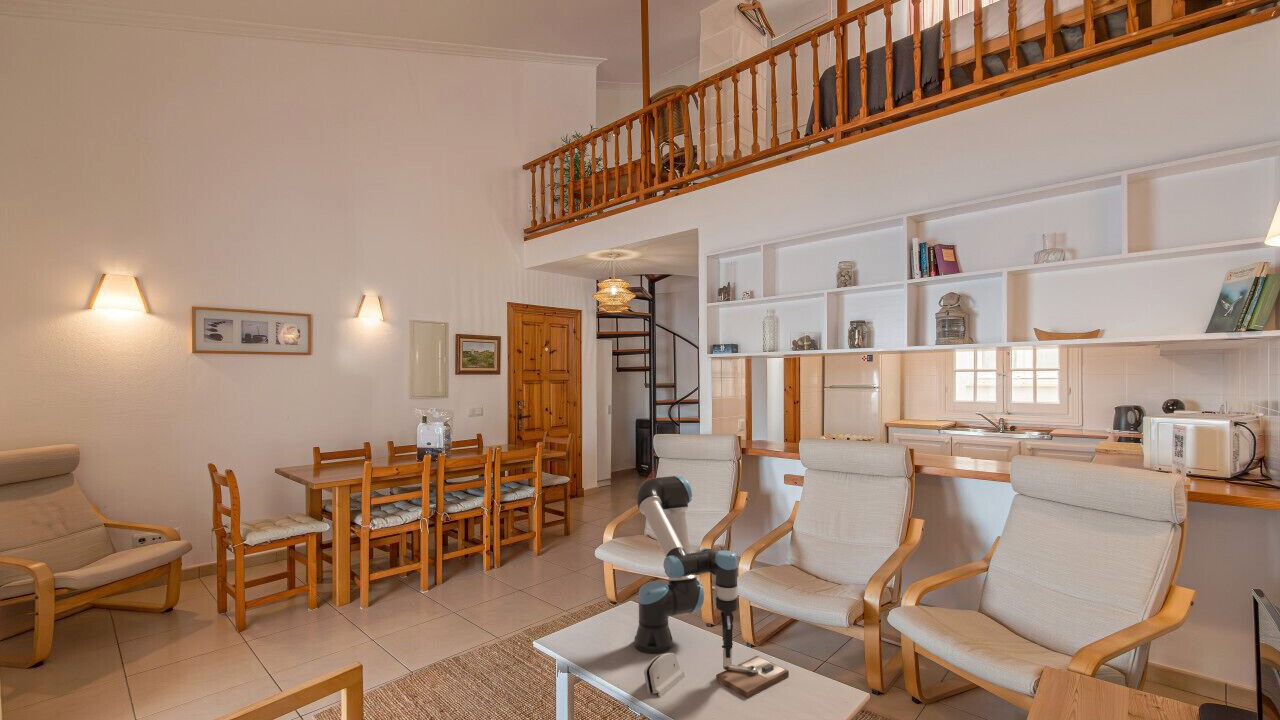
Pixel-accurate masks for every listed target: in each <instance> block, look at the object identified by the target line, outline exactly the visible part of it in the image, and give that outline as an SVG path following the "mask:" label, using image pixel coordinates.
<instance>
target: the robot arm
mask: <svg viewBox="0 0 1280 720" xmlns="http://www.w3.org/2000/svg"><path fill="white" fill-rule="evenodd" d="M692 497H693V490H692V487H691V484H690V482H689V481H688V479H687V478H686V477H684V476H681V475H671V476H670V475H669V476H660V477H651V478H647V479H646V480H644V481H643V482H642V483H641V485H640V486H639V487H638V490H637V492H636V499H635V501H636V505H637V509H638V510H639V512H640V514H642V515H644V516H645V519H646V521H647V522H648V525H649V526H650V529H651V531H652V533H653V535H654V536H655V538H656V541H657V543H658V545H659V547H660V549H661V550H662V553H663V555H664V560H663V569H664V573H665V575H666V577H668V580H667V581H668V583H667V582H666V581H663V580H653V581H649V582H646V583H643V585H641V587H640V588H639V590H638V600H637V601H638V626H637V631H636V634H635V635H634V636H635V637H634V638H633V639H634V640H633V641H634V643H633V644H634V648H635V649H636V650H638V651H639V652H642V653H645V654H654V655H655V654H656V655H657V654H664V653H667V652H668V651H670V650H671V649H672V648H673V646H674V642H673V641H674V640H673V636H672V632H671V629H670V626H669V617H673V616H680V615H683V614H691V613H695V612H698V611H700V610H701V608H702V607H703V605H704V602H705V589H704V586H703V583H702V581H700V580H699V579H697V575H702V574H703V575H704V574H708V573H709V574H712V575H713V576H715V587H714V588H713V589H714V590H715V596H716V597H715V607H716V609H717V610H718V611H720V617H721V627H722V638H721V639H722V645H721V648H722V652H723V653H722V655H723V654H724V666H732V665H733V662H732V661H733V657H732V656H733V655H732V653H733V652H732V651H733V650H732V649H733V644H734V643H733V629H734V624H733V621H734V615H733V612H735V611H737V610H738V605H739V604H738V603H739V602H738V600H739V599H738V593H739V592H738V586H739V585H738V560H737V554H736V552H734V551H732V550H727V549H725V550H718V551H716V550H715V549H713V548H709V547H704V548H702V549H700V550H699V551H698V552H691V551H690V542H689V534H688V533H689V532H688V526H687V525H688V523H687V517H686V511H687V510H688V509H689V504H690V503H691V501H692V500H693V499H692Z"/></svg>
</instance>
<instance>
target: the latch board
mask: <svg viewBox="0 0 1280 720" xmlns="http://www.w3.org/2000/svg"><path fill="white" fill-rule="evenodd" d="M737 666H744V667H749V666H755V667H757V674H750V673H746V672H739V671H732V670H724V671H722V672H719V673H717V674H716V675H715V682H716V681H717V683H719V684H721V685H723V686H725V687H727V688H728V689H730V690H732V691H733V692H735V693H737V694H739V695H741V696H742V697H744V698H746V699H748V698H750V697H753V696H754V695H756V694H758V693H760V692H762V691H764V690H766V689H767V688H769V687H772V686H773V685H775V684H777V683H779V682H781V681H782V680H785V679H787V678H789V670H788V669H786V668H784V667H782V666H781V665H777V664H776V663H773V662H771V661H770V660H767V659H766V658H763V657H761V656H759V655H756V656H754V657H751V658H749V659H747V660H745V661H743V662H741V663H739V664H737Z"/></svg>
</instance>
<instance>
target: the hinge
mask: <svg viewBox="0 0 1280 720" xmlns="http://www.w3.org/2000/svg"><path fill="white" fill-rule="evenodd" d="M643 675H644V680H645V685H646V692H647V694H658V697H659V698H662V697H663V696H664V695H665V694H667V692H669V691H671V689H672V688H674V686H676V685H677V684H679V682H681V681H682V680H683V679H684V678H685V677H686V675H685V671H684V670H683V669H681V666H680V663H679V661H678V658H677V655H676V654H675V653H673V652H668V653H667V652H664V653H660V654H659V655H657V656H654V658H652V659H651V660H650V661H649V662H648V664H647V665H646V667H645V668H644V671H643Z"/></svg>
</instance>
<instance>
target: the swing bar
mask: <svg viewBox="0 0 1280 720" xmlns="http://www.w3.org/2000/svg"><path fill="white" fill-rule="evenodd" d="M722 655H723V656H722V668H723V670H724V671H726V670H732V671H739V672H746V673H750V674H757V667H755V666H749V667H744V666H737V665H738V664H737V665H736V664H732V666H724V654H723V653H722Z"/></svg>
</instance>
